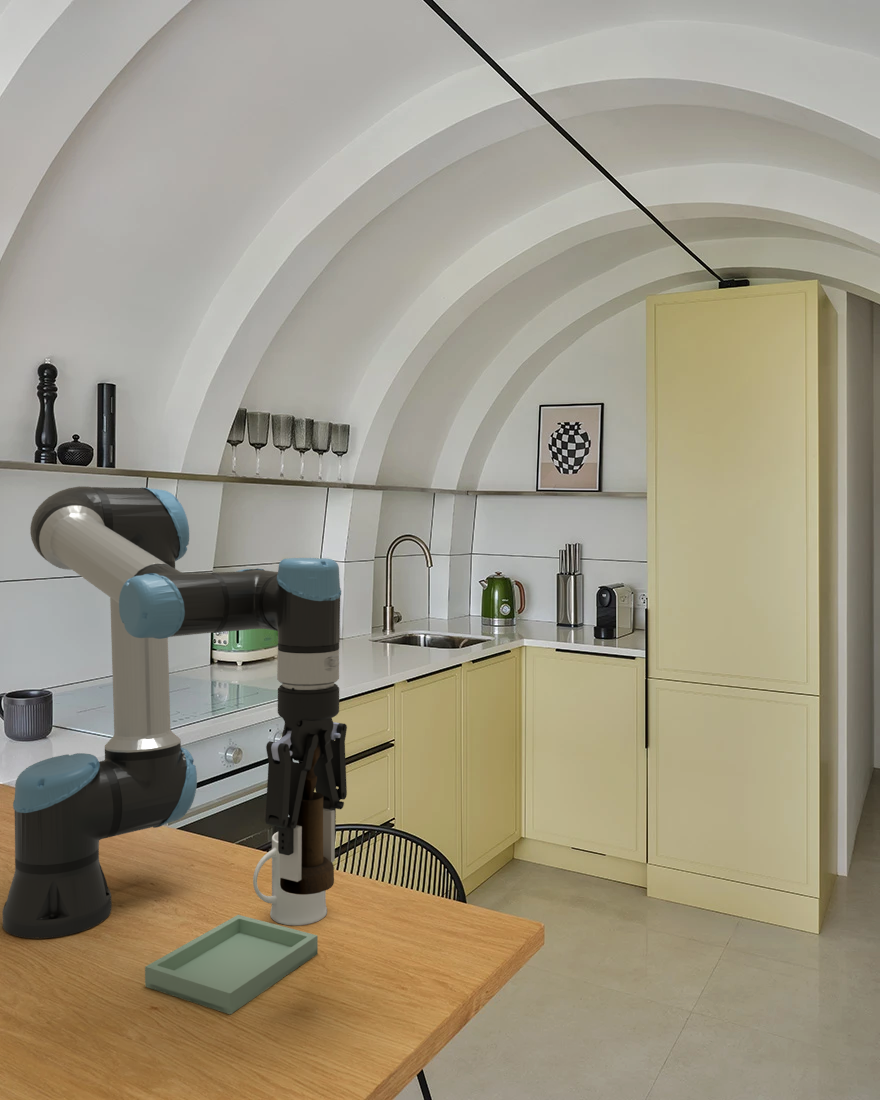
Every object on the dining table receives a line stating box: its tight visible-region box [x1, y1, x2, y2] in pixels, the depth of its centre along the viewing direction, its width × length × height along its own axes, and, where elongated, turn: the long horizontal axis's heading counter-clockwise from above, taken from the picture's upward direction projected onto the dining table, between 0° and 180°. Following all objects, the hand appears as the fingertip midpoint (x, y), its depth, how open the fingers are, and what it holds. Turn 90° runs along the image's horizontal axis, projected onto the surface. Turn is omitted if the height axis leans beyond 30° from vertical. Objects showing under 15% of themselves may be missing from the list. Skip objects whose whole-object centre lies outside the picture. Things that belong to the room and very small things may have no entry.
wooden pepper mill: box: [280, 745, 335, 895], centre depth 115 cm, size 7×6×18 cm
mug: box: [252, 831, 328, 927], centre depth 141 cm, size 12×8×12 cm
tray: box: [144, 914, 319, 1015], centre depth 124 cm, size 14×18×3 cm
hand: (307, 868), depth 116 cm, fingers closed on wooden pepper mill, 6 cm apart
